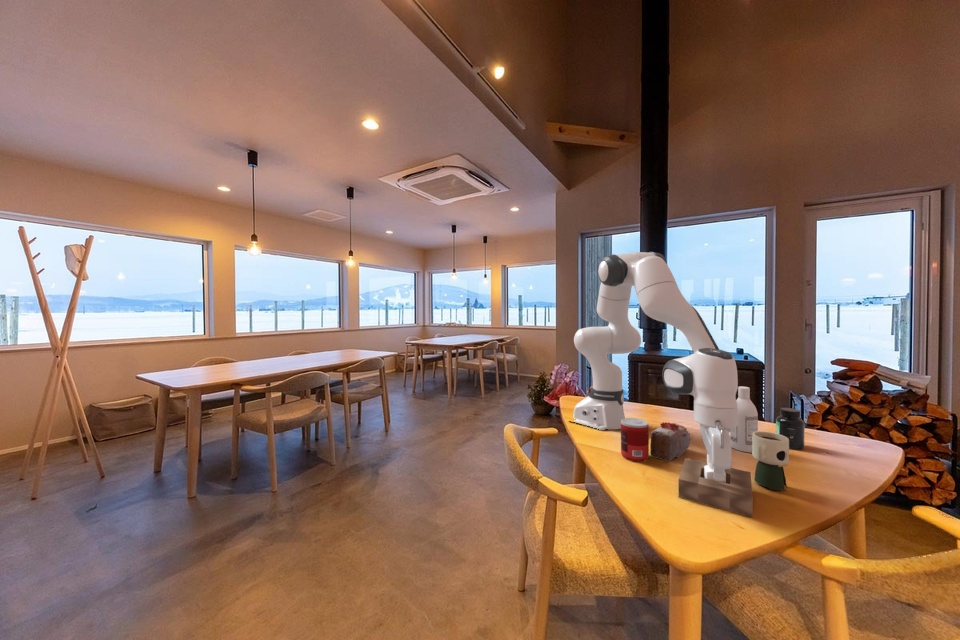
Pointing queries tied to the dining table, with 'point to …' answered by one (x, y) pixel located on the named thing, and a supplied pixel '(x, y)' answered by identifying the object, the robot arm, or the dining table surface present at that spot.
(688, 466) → the socket
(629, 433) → the canned food
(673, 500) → the dining table surface
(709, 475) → the pepper shaker
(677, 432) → the food item
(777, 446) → the character mug
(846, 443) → the dining table surface
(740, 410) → the bath foam
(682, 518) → the dining table surface
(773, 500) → the dining table surface
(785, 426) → the supplement bottle
